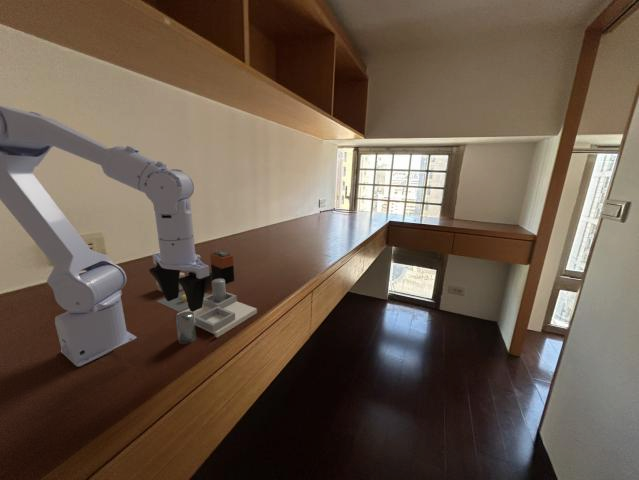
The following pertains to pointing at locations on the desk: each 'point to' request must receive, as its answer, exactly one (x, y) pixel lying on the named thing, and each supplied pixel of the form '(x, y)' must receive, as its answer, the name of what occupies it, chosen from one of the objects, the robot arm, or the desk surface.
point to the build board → (221, 310)
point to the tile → (177, 302)
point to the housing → (179, 283)
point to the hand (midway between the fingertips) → (183, 304)
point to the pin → (186, 327)
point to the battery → (222, 266)
